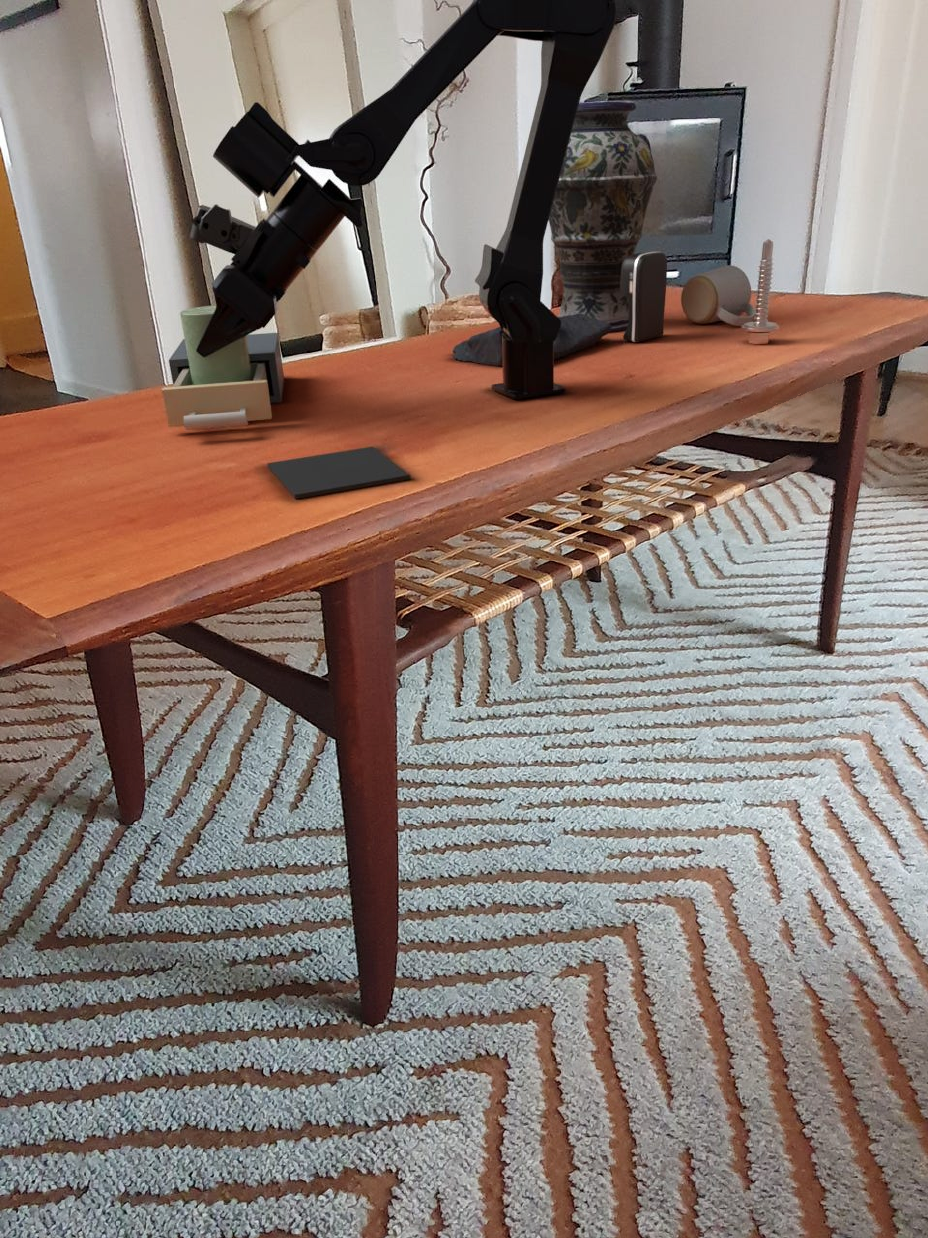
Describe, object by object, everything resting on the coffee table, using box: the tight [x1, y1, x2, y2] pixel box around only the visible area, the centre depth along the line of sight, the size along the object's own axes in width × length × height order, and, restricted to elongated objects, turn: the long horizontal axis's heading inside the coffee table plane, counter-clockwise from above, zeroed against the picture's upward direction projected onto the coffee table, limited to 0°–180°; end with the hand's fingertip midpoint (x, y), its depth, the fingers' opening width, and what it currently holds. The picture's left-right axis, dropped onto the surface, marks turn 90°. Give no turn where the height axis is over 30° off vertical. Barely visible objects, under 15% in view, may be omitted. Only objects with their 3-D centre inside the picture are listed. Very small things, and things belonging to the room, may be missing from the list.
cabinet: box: [168, 332, 285, 404], centre depth 111 cm, size 14×12×6 cm
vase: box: [548, 100, 658, 333], centre depth 136 cm, size 17×17×30 cm
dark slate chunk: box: [451, 313, 612, 367], centre depth 127 cm, size 15×22×5 cm
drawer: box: [161, 361, 273, 431], centre depth 99 cm, size 16×10×4 cm, turn 9°
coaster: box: [267, 446, 411, 500], centre depth 82 cm, size 10×10×1 cm
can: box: [179, 304, 253, 385], centre depth 100 cm, size 6×6×9 cm
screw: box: [740, 238, 780, 345], centre depth 123 cm, size 13×5×5 cm
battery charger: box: [620, 251, 668, 343], centre depth 130 cm, size 7×4×11 cm, turn 137°
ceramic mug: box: [680, 265, 756, 327], centre depth 139 cm, size 11×8×8 cm
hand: (204, 348), depth 100 cm, fingers closed on can, 6 cm apart
